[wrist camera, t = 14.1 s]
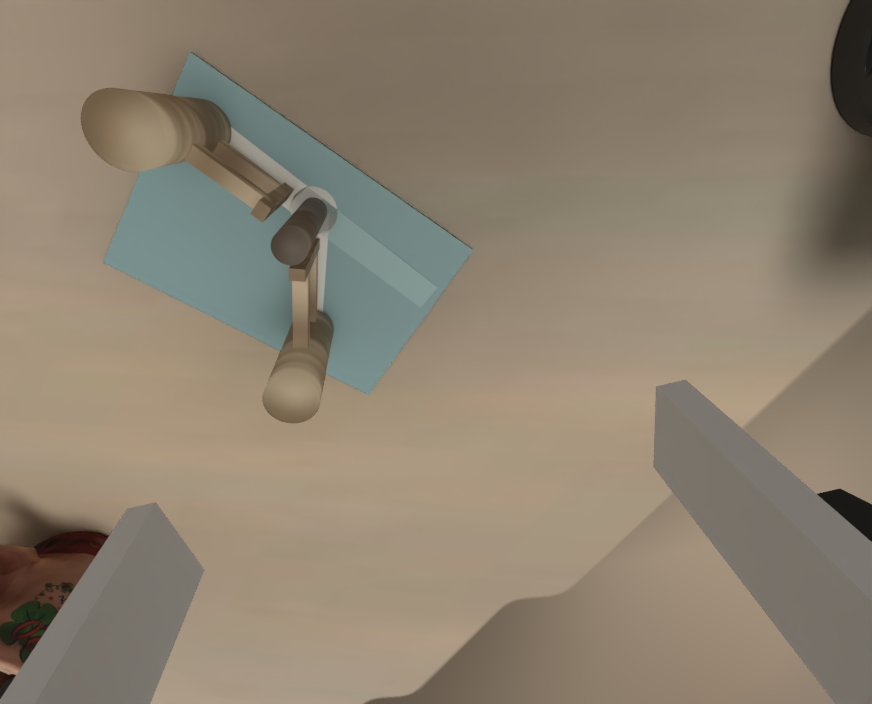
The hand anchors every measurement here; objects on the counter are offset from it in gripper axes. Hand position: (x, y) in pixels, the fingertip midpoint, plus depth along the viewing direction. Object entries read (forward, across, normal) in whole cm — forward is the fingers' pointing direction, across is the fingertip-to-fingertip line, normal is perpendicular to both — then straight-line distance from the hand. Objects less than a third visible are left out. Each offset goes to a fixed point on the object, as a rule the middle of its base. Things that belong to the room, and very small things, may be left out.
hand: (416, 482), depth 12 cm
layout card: (+28, +8, 0) cm, 30 cm away
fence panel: (+28, +8, +3) cm, 29 cm away
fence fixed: (+28, +9, -7) cm, 31 cm away
